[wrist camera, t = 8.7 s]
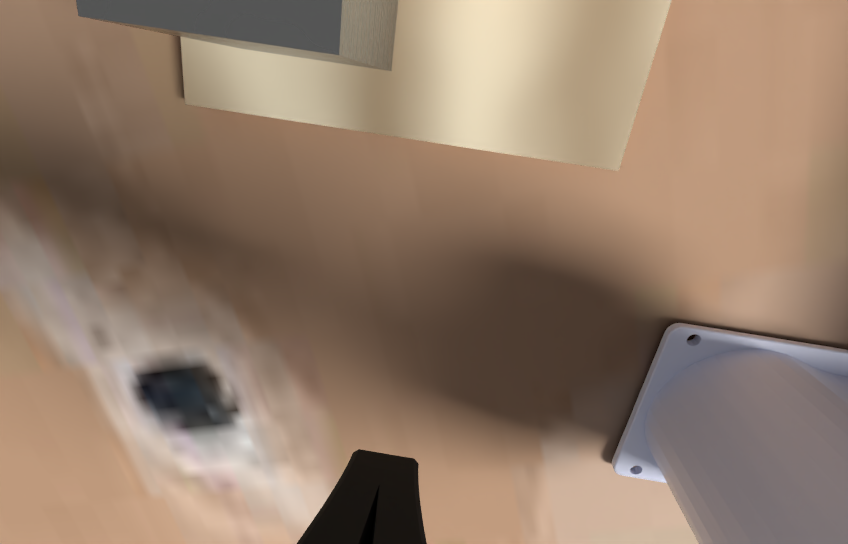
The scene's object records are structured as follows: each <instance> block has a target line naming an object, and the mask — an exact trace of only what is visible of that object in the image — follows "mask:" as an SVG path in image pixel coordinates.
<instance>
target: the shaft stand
mask: <svg viewBox="0 0 848 544" xmlns="http://www.w3.org/2000/svg"><path fill="white" fill-rule="evenodd" d="M76 2H77V9H78V16H81V17H86V18H91V19H96V20H100V21H105V22H110V23H115V24H120V25H125V26H130V27H135V28H140V29H145V30H150V31H155V32H160V33H165V34H170V35H175V36H180V39H181V53H182V68H183V82H184V96H185V104H186V105H193V106H199V107H206V108H212V109H218V110H225V111H231V112H238V113H244V114H251V115H257V116H264V117H270V118H277V119H283V120H290V121H296V122H303V123H309V124H316V125H322V126H329V127H335V128H342V129H348V130H355V131H361V132H368V133H374V134H381V135H387V136H394V137H400V138H407V139H413V140H420V141H426V142H433V143H439V144H446V145H452V146H459V147H465V148H472V149H478V150H485V151H491V152H498V153H504V154H510V155H517V156H523V157H530V158H536V159H543V160H549V161H556V162H562V163H569V164H575V165H582V166H588V167H595V168H601V169H608V170H614V171H619V168H620V165H621V162H622V158H623V155H624V152H625V149H626V145H627V142H628V139H629V136H630V133H631V129H632V126H633V123H634V120H635V116H636V113H637V110H638V107H639V104H640V100H641V97H642V94H643V91H644V87H645V84H646V81H647V78H648V75H649V71H650V68H651V65H652V62H653V58H654V55H655V52H656V49H657V46H658V42H659V39H660V36H661V33H662V29H663V26H664V23H665V20H666V17H667V13H668V10H669V7H670V4H671V0H76Z"/></svg>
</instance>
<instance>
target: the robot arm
mask: <svg viewBox="0 0 848 544" xmlns="http://www.w3.org/2000/svg"><path fill="white" fill-rule="evenodd" d="M695 334H696V336H695V338H694V339H692V340H690V341H687V338H688V337H689V336H691V335H695ZM612 466H613V468H614V471H615V472H616V473H617V474H619V475H623V476H629V477H634V478H640V479H646V480H652V481H658V482H664V483H667V484H668V485H669V487H670V489H671V491H672V493H673V495H674V497H675V499H676V501H677V503H678V505H679V506H680V508H681V510H682V512H683V514H684V516H685V518H686V520H687V522H688V524H689V525H690V527H691V529H692V531H693V533H694V535H695V537H696V539H697V541H698V543H699V544H848V350H846V349H840V348H834V347H828V346H821V345H815V344H809V343H803V342H797V341H790V340H784V339H778V338H772V337H766V336H759V335H753V334H747V333H741V332H735V331H728V330H722V329H716V328H710V327H703V326H697V325H691V324H685V323H675V324H672V325H671V326H669V327H668V328H667V329H666V331H665V333H664V335H663V337H662V340H661V342H660V345H659V347H658V350H657V352H656V354H655V357H654V359H653V362H652V364H651V367H650V369H649V372H648V374H647V376H646V379H645V381H644V384H643V386H642V389H641V391H640V394H639V396H638V398H637V401H636V403H635V406H634V408H633V411H632V413H631V416H630V418H629V420H628V423H627V425H626V428H625V430H624V433H623V435H622V437H621V440H620V442H619V445H618V447H617V450H616V452H615V455H614V457H613V459H612ZM633 466H636V467H633ZM297 544H427V543H426V538H425V532H424V526H423V520H422V513H421V506H420V497H419V485H418V463H417V462H416V460H415V459H413V458H407V457H401V456H395V455H389V454H383V453H377V452H371V451H365V450H360V449H359V450H357V451H355V452H353V454H352V457H351V459H350V461H349V463H348V465H347V467H346V469H345V470H344V472H343V474H342V476H341V478H340V479H339V481H338V483H337V484H336V486H335V488H334V489H333V491H332V492H331V494H330V496H329V497H328V499H327V500H326V502H325V504H324V505H323V507H322V508H321V509H320V511H319V512H318V514H317V515H316V517H315V518H314V520H313V521H312V523H311V524H310V525H309V527H308V528H307V530H306V531H305V533H304V534H303V536H302V537H301V538H300V540H299V541H298V542H297Z"/></svg>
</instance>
